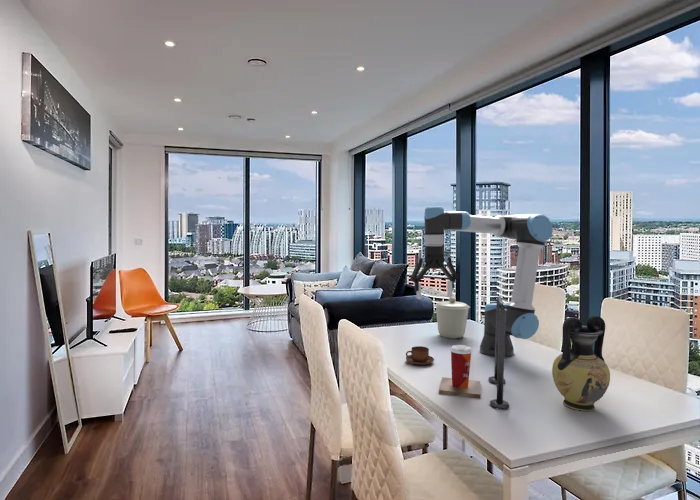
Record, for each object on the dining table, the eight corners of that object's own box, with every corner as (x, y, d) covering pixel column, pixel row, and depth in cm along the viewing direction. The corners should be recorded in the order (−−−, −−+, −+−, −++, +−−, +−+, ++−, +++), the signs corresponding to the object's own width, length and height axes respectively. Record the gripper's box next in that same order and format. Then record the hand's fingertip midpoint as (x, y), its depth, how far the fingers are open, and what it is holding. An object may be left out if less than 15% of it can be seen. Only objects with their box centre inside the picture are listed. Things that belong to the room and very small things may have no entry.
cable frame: (488, 378, 175) (491, 294, 173) (504, 379, 174) (507, 295, 172) (490, 408, 146) (493, 308, 145) (509, 410, 145) (513, 309, 143)
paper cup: (471, 390, 159) (472, 350, 158) (449, 388, 160) (450, 349, 160) (470, 382, 167) (471, 345, 166) (449, 380, 168) (450, 343, 167)
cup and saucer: (416, 368, 186) (416, 353, 186) (400, 360, 197) (400, 346, 197) (439, 364, 192) (440, 350, 192) (422, 357, 203) (423, 343, 202)
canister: (432, 338, 235) (433, 298, 233) (436, 331, 252) (437, 293, 251) (468, 342, 229) (469, 300, 228) (469, 333, 247) (470, 295, 245)
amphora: (582, 420, 138) (586, 323, 136) (539, 400, 154) (542, 313, 152) (621, 411, 145) (625, 319, 143) (576, 393, 161) (579, 309, 159)
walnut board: (480, 384, 168) (480, 381, 168) (480, 398, 155) (480, 394, 155) (442, 380, 172) (442, 377, 172) (438, 393, 159) (438, 390, 159)
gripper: (457, 244, 188) (457, 294, 189) (401, 245, 181) (402, 298, 182) (467, 244, 180) (467, 297, 182) (408, 246, 174) (409, 301, 175)
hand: (434, 298), depth 182 cm, fingers open, 13 cm apart
